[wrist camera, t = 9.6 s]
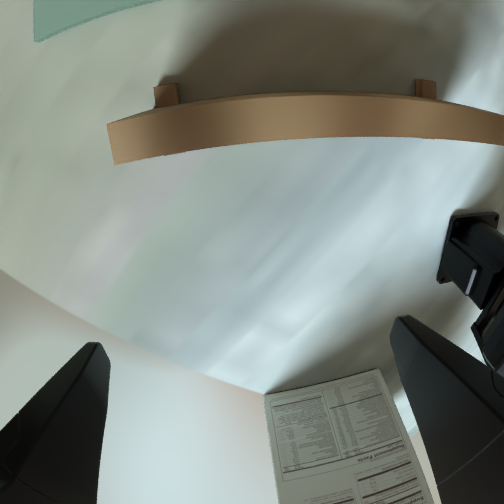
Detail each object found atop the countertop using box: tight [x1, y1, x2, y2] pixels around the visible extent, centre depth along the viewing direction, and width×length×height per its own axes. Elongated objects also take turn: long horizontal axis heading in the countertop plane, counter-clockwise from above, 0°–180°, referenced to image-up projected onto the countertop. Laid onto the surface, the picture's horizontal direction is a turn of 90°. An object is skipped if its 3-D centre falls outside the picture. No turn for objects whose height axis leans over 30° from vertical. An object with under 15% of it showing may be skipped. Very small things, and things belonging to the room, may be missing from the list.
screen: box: [107, 79, 504, 165], centre depth 13 cm, size 18×4×8 cm, turn 95°
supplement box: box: [263, 369, 434, 504], centre depth 25 cm, size 13×13×18 cm
